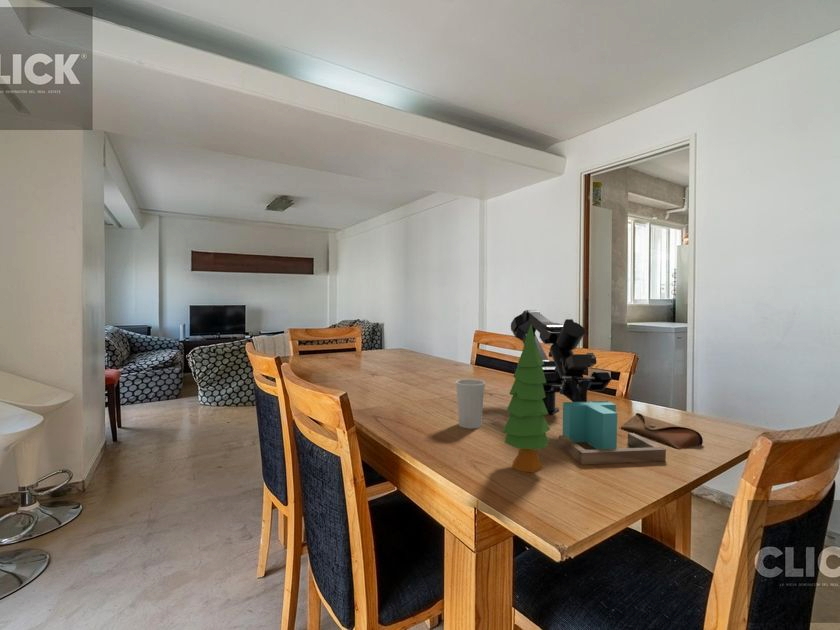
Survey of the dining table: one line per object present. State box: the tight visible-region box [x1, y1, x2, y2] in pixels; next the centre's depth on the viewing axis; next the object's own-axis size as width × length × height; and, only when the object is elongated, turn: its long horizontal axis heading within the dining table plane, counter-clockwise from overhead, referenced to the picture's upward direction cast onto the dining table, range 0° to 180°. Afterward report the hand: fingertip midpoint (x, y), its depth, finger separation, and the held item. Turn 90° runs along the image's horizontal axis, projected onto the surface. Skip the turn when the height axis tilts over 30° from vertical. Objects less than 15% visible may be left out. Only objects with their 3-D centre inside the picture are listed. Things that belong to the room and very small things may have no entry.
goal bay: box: [558, 432, 667, 466], centre depth 90 cm, size 11×19×2 cm, turn 96°
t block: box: [562, 400, 618, 450], centre depth 95 cm, size 10×12×9 cm
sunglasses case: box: [619, 412, 704, 450], centre depth 101 cm, size 18×7×7 cm, turn 24°
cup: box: [455, 378, 486, 430], centre depth 109 cm, size 8×8×12 cm
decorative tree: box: [502, 324, 551, 473], centre depth 82 cm, size 10×9×30 cm
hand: (584, 409), depth 100 cm, fingers closed, pressing on t block
